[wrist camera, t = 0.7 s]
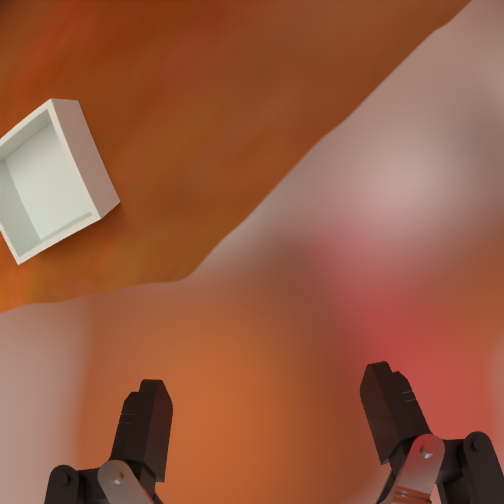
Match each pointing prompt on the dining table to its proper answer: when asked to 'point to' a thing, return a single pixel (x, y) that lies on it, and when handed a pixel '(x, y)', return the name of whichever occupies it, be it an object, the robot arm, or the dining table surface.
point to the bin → (50, 179)
